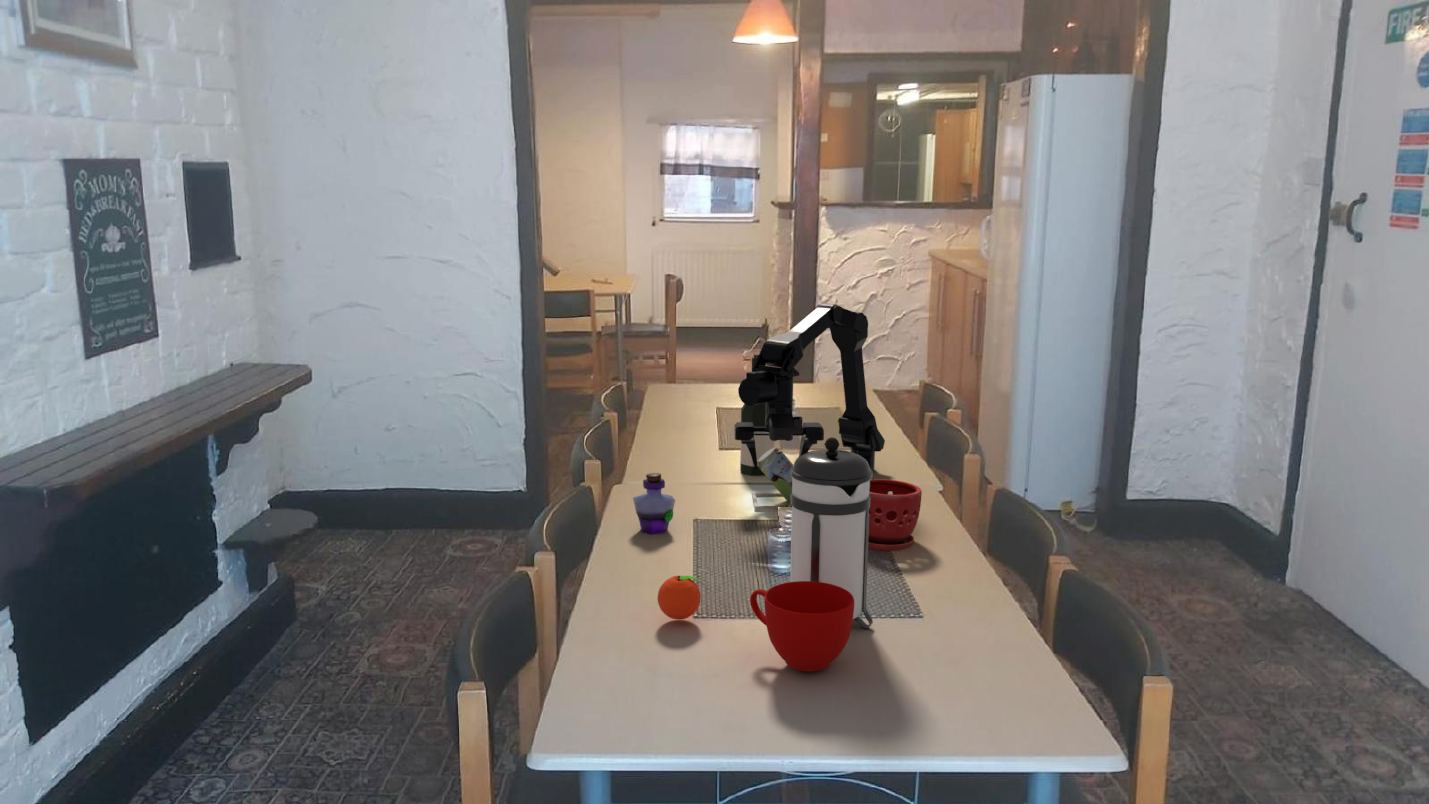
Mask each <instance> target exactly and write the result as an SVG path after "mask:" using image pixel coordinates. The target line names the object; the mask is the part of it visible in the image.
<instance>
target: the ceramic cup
mask: <svg viewBox="0 0 1429 804" xmlns="http://www.w3.org/2000/svg"><path fill="white" fill-rule="evenodd" d="M758 595H760V596H762V597H763V598H764V612H762V610H761V608H760V606H759V604H758V600H757V599H758ZM749 598H750V599H749V603H750V606H751V609H752V610H751V611H752V612H753V614H754V615H755V617H756V618H757V619H758V621H760V622H761V623H763V624H764V625H765V627H766V630H767V633H768V637H769V641H770V642H771V644H772V646H773V648H774V649H775V652H776V653H777V654H778V655H779V656H780V658H781V659H782V660H783V661H784V662H785V664H786V665H787V666H788V667H790V668H791V669H795V670H798V671H803V672H817V671H821V670H825V669H827V668H828V667H830V665H831V664H832V663H833V662H834V661H835V660H836V659H837V658H838V657H839V656H840V655H841V653H842V652H843V650H844V649H845V648H846V645H847V643H848V641H849V638H850V634H851V630H852V625H853V621H854V620H853V613H854V598H853V595H852V594H851V593H850V592H848V591H847V590H845V589H843V588H841V587H839V586H836V585H832V584H828V583H822V582H813V581H796V582H790V581H788V582H784V583H779V584H777V585H776V584H775V585H774V586H772V587H770V588H769V589H768V590H765V589H763V588H758V589H755V590H754V591H753V592H752V593H751V594H750V597H749Z"/></svg>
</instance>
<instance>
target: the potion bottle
mask: <svg viewBox="0 0 1429 804" xmlns="http://www.w3.org/2000/svg"><path fill="white" fill-rule="evenodd" d="M645 477H646V478H645V479H643V481H642V487H643V489H646V493H643V494H642V493H641V494H640V495H637V496H633V497H632V502H633V505H634V509H635V513H636V515H637V518H638V521H639V526H640V530H641V532H642V534H643V533H644V534H649V535H658V534H663V533H666V532H667V531H668V528H669V525H670V522H671V521H672V519H673V517H674V507H675V503H676V499H675V498H674V496H673V495H671V494H666V493H665V494H664V493H662V490H663V489H665V488H666V487H665V485H666V484H665V483H666V482H665V480H664V478H662V474H661V473H659V472H651V473H647V474H646V475H645Z"/></svg>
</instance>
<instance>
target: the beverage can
mask: <svg viewBox="0 0 1429 804" xmlns="http://www.w3.org/2000/svg"><path fill="white" fill-rule="evenodd" d="M757 462H758V463H759V468H760V469H761V471H762V472H763V473H764V474H765V475H766V476H765V477H766V478H767V480H769V482H770V483H771V484H772V485H773V486H774V487H775V489H776V490H777V491H778V493H781V494H782V496H781V497H783V498H784V499H785V501H787V502H791V490H792V477H791V475H790V468H791V467H792V466H793V465H794V463H793V462H792V461H791V460H790V459H789V458H788V456H786V454H785V453H784V452H783V451H782V450H781V449H779V448H777V447H776V446H774V447H773V448H771V449H769V450H768V451H766V452H765V453H764V454H763V455H762V456H761V457H760V458H759V459H758V461H757Z"/></svg>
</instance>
